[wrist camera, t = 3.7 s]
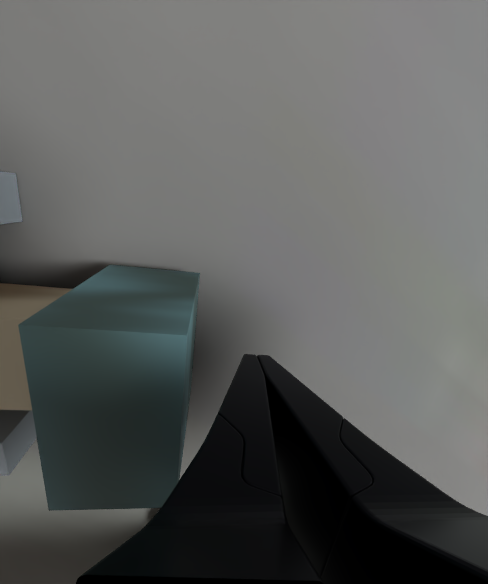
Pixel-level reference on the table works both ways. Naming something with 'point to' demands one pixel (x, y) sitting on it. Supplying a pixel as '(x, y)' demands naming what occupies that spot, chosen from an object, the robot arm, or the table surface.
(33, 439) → the channel
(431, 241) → the table surface
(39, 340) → the push rod
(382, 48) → the table surface
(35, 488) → the table surface
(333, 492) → the robot arm
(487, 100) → the table surface
